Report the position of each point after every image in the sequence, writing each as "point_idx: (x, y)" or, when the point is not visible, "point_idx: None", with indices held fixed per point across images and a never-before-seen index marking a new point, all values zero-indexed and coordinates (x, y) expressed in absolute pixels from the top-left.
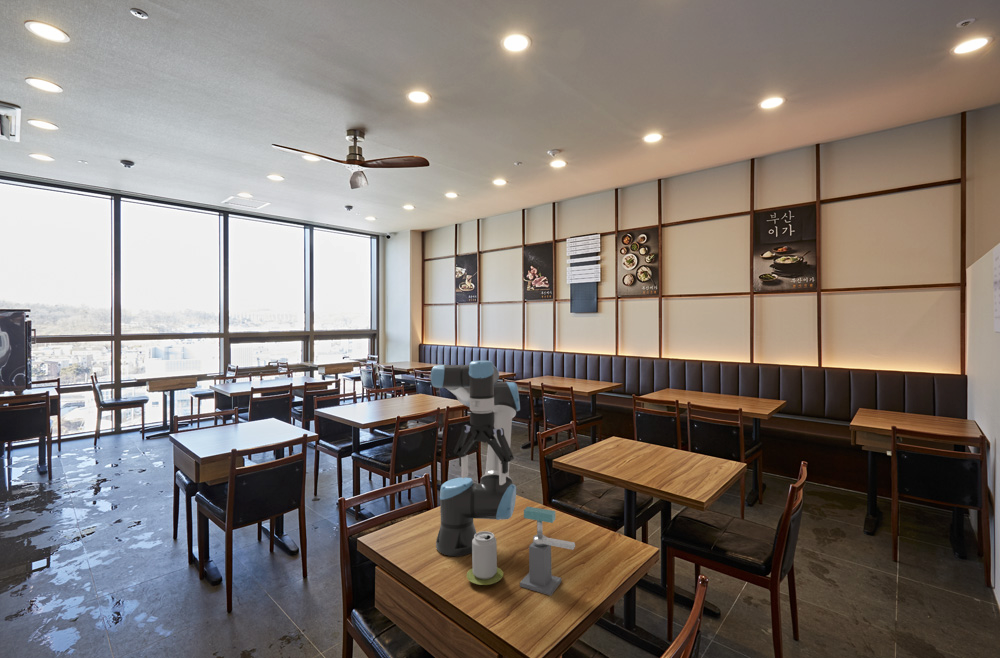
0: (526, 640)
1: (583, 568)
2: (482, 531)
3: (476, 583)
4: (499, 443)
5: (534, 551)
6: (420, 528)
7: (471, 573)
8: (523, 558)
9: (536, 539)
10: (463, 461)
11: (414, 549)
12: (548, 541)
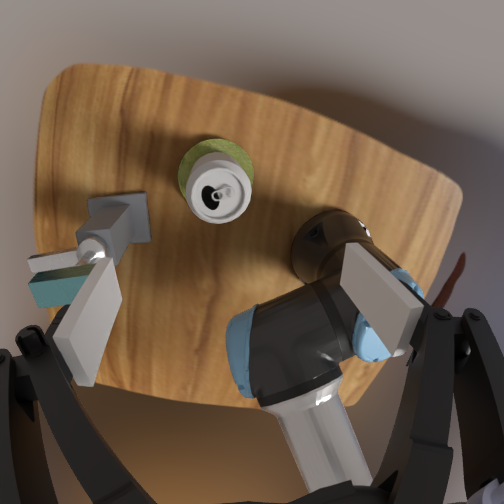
0: (71, 81)
1: None
2: (237, 213)
3: (212, 140)
4: (14, 481)
5: (100, 226)
6: (411, 265)
7: (242, 165)
8: (193, 275)
9: (90, 243)
10: (394, 296)
11: (391, 202)
12: (68, 251)
